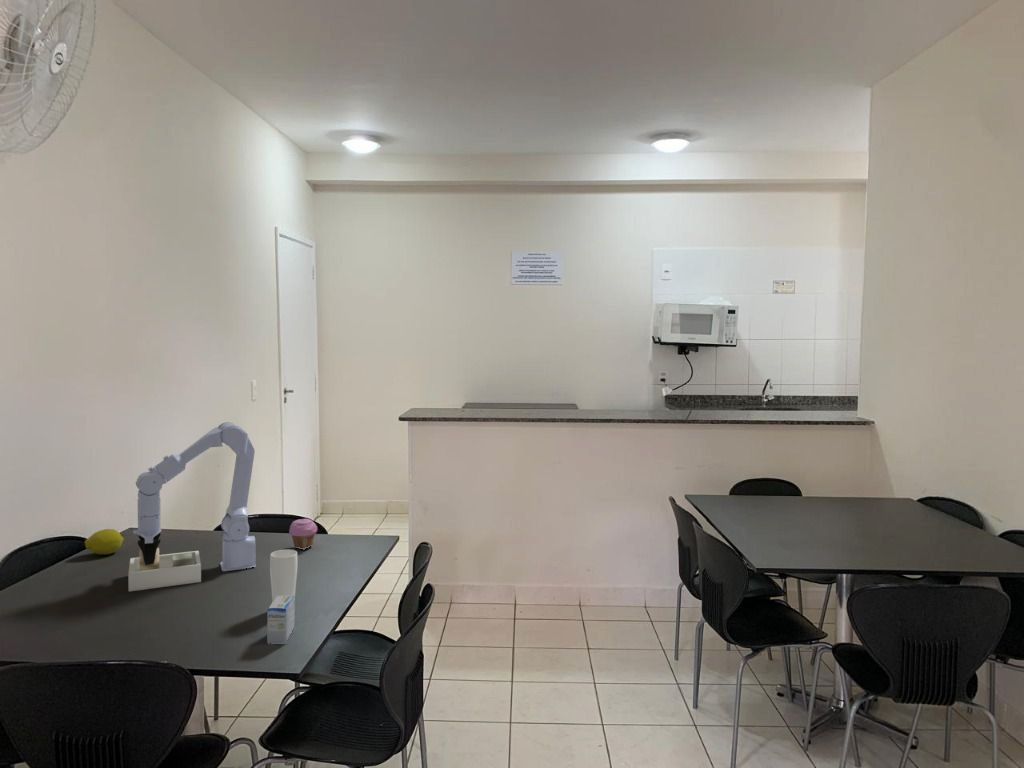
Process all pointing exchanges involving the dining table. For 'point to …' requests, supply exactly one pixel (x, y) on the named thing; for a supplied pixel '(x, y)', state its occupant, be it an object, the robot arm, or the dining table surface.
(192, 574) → the box
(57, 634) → the dining table surface
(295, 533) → the cupcake
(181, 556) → the sage cube
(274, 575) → the drinking glass
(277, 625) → the medicine box
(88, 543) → the lemon
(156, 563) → the wooden cylinder
